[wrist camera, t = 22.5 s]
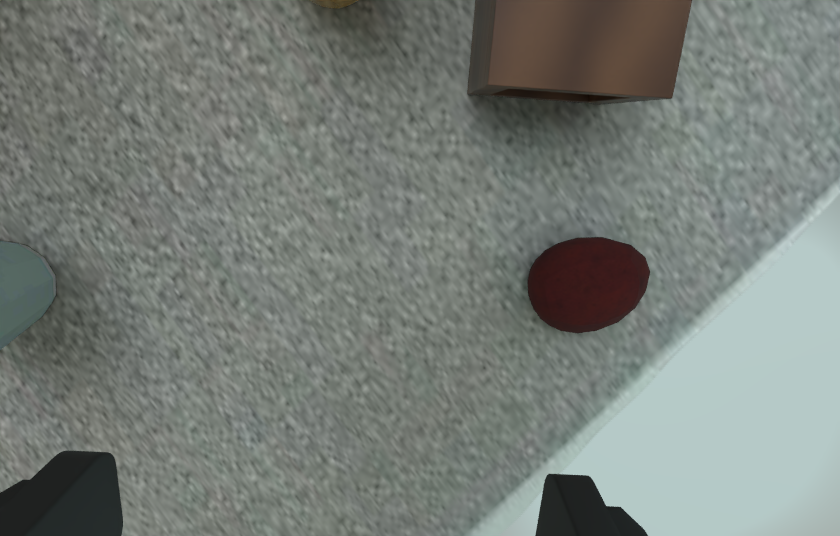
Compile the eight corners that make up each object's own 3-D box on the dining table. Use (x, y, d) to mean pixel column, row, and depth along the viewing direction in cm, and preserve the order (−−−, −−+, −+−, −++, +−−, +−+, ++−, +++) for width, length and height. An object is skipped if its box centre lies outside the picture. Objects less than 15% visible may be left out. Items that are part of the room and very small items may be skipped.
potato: (522, 228, 39) (541, 247, 33) (635, 228, 39) (675, 246, 33) (516, 317, 41) (534, 350, 35) (624, 316, 41) (659, 348, 35)
